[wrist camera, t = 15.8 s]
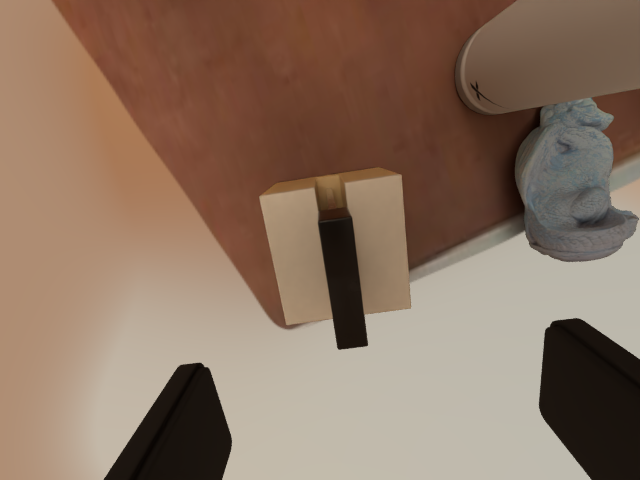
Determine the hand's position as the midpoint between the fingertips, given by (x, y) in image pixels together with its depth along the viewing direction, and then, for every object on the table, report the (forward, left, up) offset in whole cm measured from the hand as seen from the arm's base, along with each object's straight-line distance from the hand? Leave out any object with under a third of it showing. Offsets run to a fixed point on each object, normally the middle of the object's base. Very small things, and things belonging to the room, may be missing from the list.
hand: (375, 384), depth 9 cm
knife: (0, 0, -17) cm, 17 cm away
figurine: (-17, -2, -19) cm, 25 cm away
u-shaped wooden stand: (0, 0, -18) cm, 18 cm away
